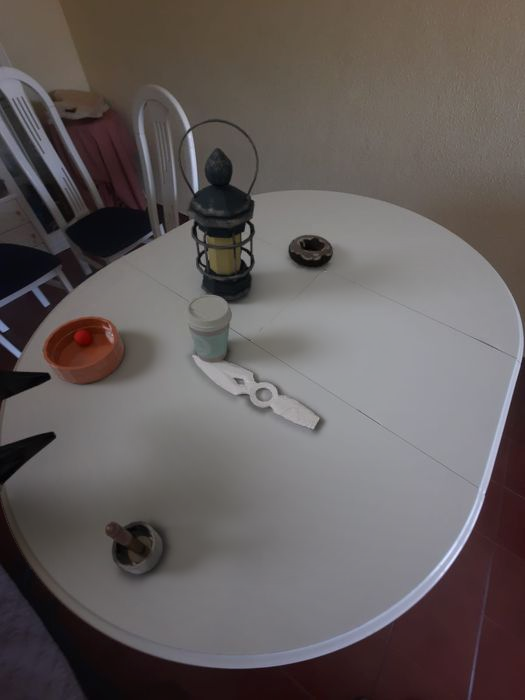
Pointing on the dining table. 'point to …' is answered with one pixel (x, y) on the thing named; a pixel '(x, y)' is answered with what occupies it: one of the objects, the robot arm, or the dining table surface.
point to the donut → (313, 258)
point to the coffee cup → (209, 326)
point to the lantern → (222, 224)
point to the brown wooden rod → (130, 542)
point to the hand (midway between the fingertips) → (52, 403)
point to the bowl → (84, 350)
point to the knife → (280, 404)
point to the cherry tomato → (82, 337)
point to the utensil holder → (122, 552)
